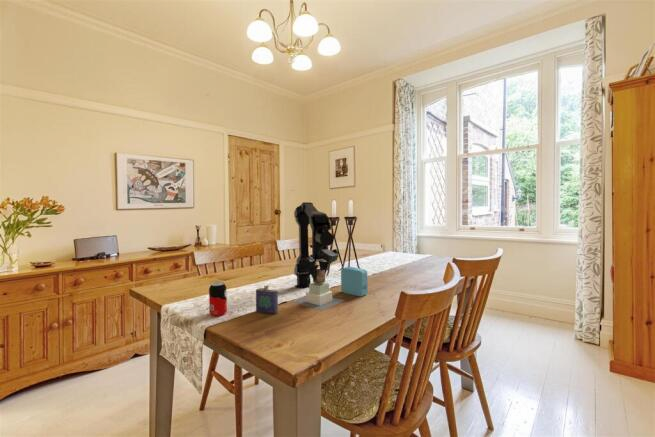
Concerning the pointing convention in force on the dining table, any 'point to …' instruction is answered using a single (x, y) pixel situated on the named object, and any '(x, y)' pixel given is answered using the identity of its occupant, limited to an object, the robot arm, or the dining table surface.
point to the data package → (354, 281)
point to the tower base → (319, 298)
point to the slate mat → (322, 307)
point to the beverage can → (217, 299)
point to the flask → (266, 300)
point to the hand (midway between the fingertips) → (319, 279)
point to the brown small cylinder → (320, 276)
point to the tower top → (319, 288)
